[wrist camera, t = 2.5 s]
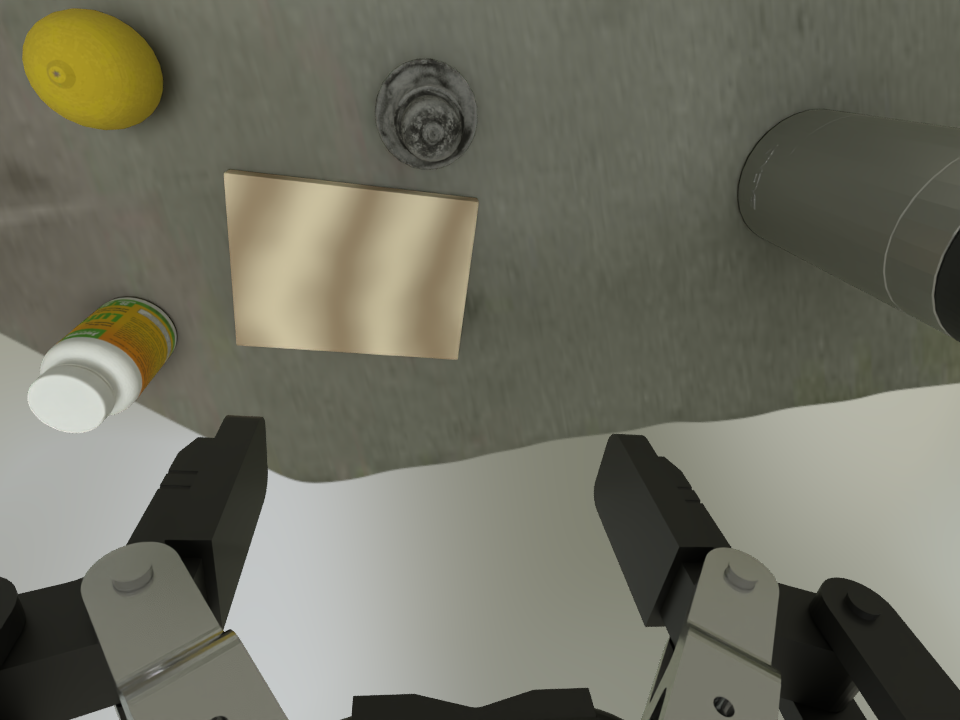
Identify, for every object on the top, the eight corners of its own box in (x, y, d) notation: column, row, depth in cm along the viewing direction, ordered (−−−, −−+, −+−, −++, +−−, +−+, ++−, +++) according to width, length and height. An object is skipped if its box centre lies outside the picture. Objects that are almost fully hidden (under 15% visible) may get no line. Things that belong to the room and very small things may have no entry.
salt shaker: (378, 51, 33) (367, 52, 23) (476, 64, 34) (507, 70, 24) (376, 155, 36) (365, 197, 26) (466, 163, 37) (490, 208, 27)
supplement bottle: (141, 282, 38) (66, 347, 30) (194, 342, 41) (140, 418, 32) (78, 317, 39) (-13, 391, 30) (135, 374, 41) (66, 457, 33)
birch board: (476, 198, 38) (478, 202, 37) (456, 352, 44) (457, 359, 43) (229, 169, 35) (223, 172, 34) (240, 337, 41) (236, 345, 40)
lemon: (184, 30, 32) (121, 24, 25) (182, 131, 34) (124, 152, 27) (75, -1, 30) (-24, -16, 23) (80, 106, 33) (-7, 122, 26)
